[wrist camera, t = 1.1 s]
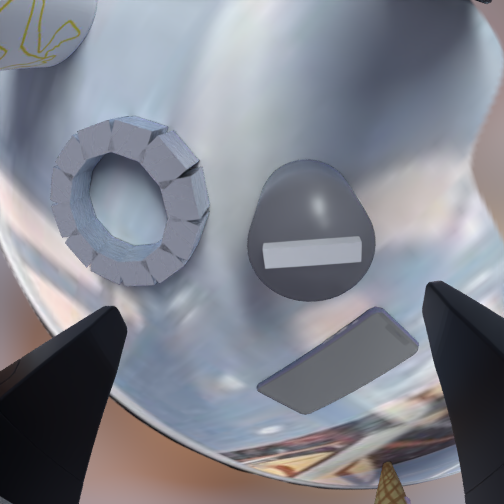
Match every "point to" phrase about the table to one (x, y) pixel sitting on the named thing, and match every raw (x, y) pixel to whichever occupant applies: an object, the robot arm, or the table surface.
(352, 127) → the table surface
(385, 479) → the ice cream cone
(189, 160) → the segmented grey ring
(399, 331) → the smartphone
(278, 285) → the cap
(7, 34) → the grey cylinder
